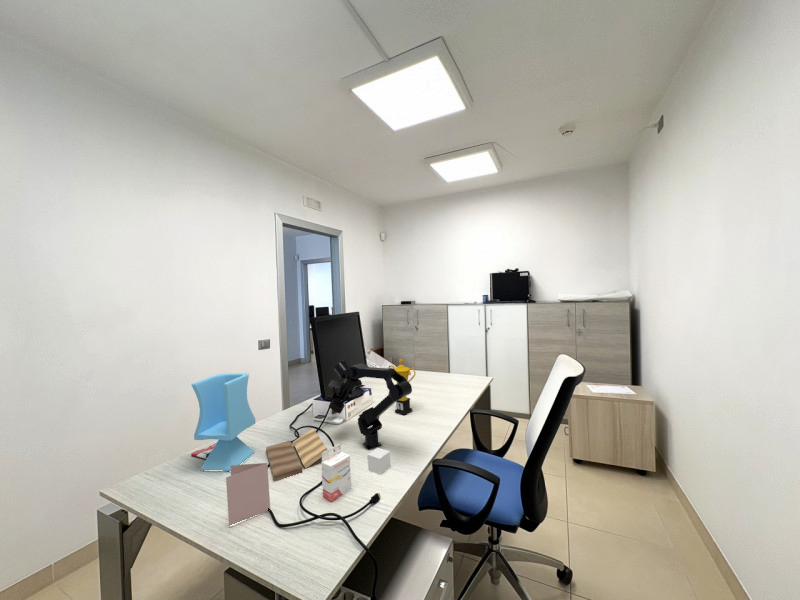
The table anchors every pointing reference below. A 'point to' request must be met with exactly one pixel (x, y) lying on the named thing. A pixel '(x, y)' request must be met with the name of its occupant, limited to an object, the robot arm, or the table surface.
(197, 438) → the blue pedestal chair
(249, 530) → the table surface
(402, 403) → the trophy
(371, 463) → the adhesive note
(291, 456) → the walnut board
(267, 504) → the greeting card
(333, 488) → the ink cartridge box
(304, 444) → the oak plank
